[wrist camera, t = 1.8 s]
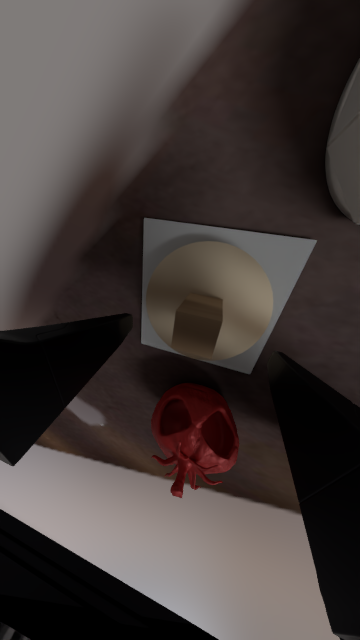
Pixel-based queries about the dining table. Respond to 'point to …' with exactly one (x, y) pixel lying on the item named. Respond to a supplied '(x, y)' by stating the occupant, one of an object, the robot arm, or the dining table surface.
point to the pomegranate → (194, 433)
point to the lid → (209, 300)
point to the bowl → (345, 150)
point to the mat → (267, 249)
